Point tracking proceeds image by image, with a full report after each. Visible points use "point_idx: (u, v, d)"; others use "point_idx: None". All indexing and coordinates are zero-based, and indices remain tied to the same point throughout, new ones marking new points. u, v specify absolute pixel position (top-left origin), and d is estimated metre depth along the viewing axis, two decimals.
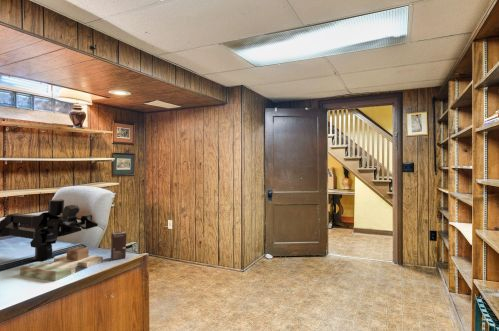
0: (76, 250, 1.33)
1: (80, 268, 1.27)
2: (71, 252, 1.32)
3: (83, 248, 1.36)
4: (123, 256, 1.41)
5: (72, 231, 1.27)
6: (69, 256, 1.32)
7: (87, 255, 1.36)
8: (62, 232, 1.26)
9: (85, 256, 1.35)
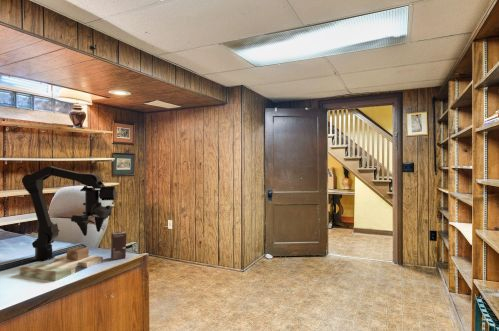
0: (76, 250, 1.33)
1: (80, 268, 1.27)
2: (71, 252, 1.32)
3: (83, 248, 1.36)
4: (123, 256, 1.41)
5: (81, 228, 1.38)
6: (69, 256, 1.32)
7: (87, 255, 1.36)
8: (77, 222, 1.36)
9: (85, 256, 1.35)
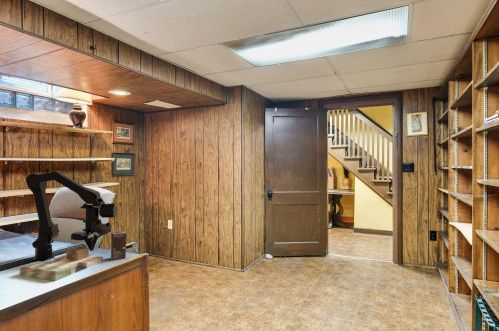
0: (76, 250, 1.33)
1: (80, 268, 1.27)
2: (71, 252, 1.32)
3: (83, 248, 1.36)
4: (123, 256, 1.41)
5: (87, 244, 1.41)
6: (69, 256, 1.32)
7: (87, 255, 1.36)
8: None
9: (85, 256, 1.35)
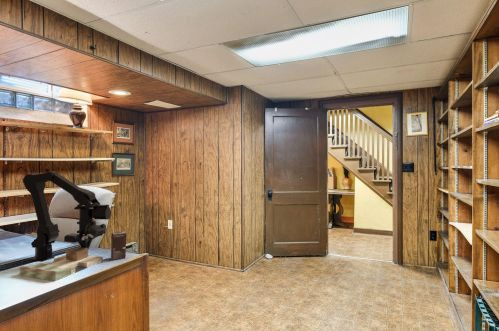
0: (75, 250, 1.32)
1: (80, 268, 1.27)
2: (70, 252, 1.32)
3: (82, 248, 1.36)
4: (123, 256, 1.41)
5: (81, 246, 1.38)
6: (69, 256, 1.32)
7: (86, 255, 1.36)
8: None
9: (84, 256, 1.35)
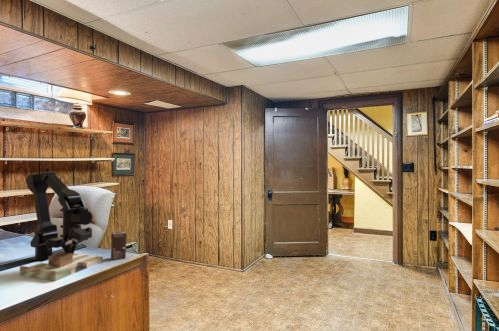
0: (59, 256, 1.24)
1: (80, 268, 1.27)
2: (53, 258, 1.23)
3: (66, 254, 1.27)
4: (123, 256, 1.41)
5: (65, 251, 1.30)
6: (51, 262, 1.24)
7: (71, 261, 1.28)
8: None
9: (69, 262, 1.27)
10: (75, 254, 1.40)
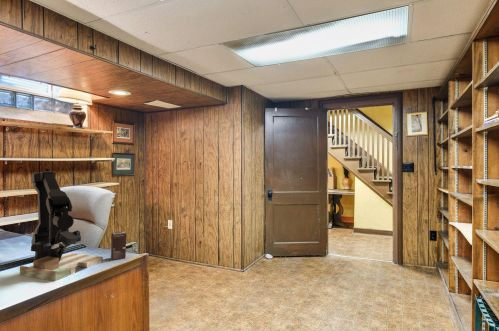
0: (44, 261, 1.18)
1: (80, 268, 1.27)
2: (38, 263, 1.18)
3: (52, 258, 1.21)
4: (123, 256, 1.41)
5: (52, 255, 1.24)
6: (36, 267, 1.18)
7: (57, 266, 1.22)
8: None
9: (54, 267, 1.21)
10: (75, 254, 1.40)
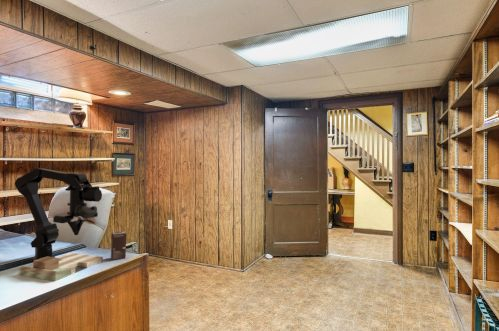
0: (44, 261, 1.18)
1: (80, 268, 1.27)
2: (38, 263, 1.18)
3: (52, 258, 1.21)
4: (123, 256, 1.41)
5: (72, 228, 1.36)
6: (36, 267, 1.18)
7: (57, 266, 1.22)
8: (68, 221, 1.35)
9: (54, 267, 1.21)
10: (75, 254, 1.40)
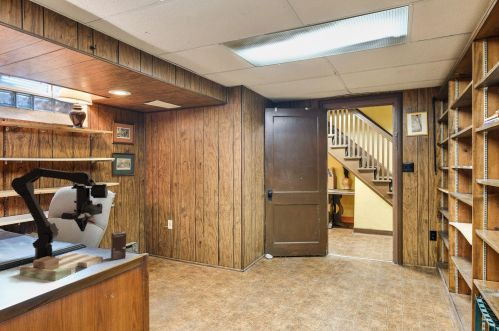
0: (44, 261, 1.18)
1: (80, 268, 1.27)
2: (38, 263, 1.18)
3: (52, 258, 1.21)
4: (123, 256, 1.41)
5: (78, 224, 1.42)
6: (36, 267, 1.18)
7: (57, 266, 1.22)
8: (74, 218, 1.40)
9: (54, 267, 1.21)
10: (75, 254, 1.40)
